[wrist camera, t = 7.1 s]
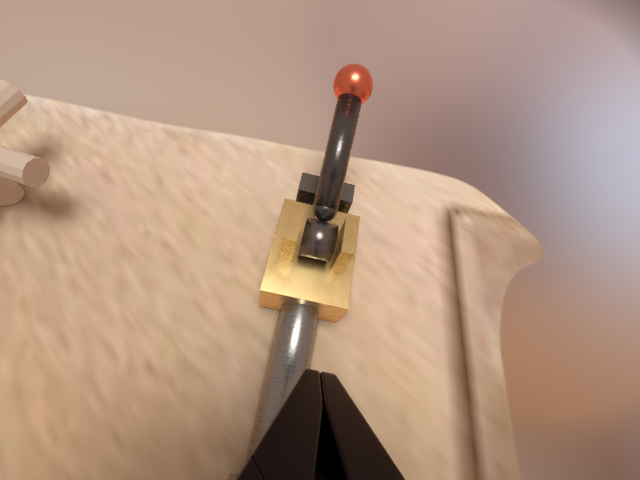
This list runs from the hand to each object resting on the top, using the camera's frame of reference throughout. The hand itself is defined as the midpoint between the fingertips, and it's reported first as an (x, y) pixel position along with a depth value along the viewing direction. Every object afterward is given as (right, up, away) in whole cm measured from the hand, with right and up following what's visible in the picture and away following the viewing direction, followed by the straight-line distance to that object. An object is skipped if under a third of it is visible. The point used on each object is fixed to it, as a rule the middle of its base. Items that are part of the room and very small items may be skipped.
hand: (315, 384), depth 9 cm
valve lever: (0, +3, +12) cm, 12 cm away
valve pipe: (-2, -2, +14) cm, 14 cm away
